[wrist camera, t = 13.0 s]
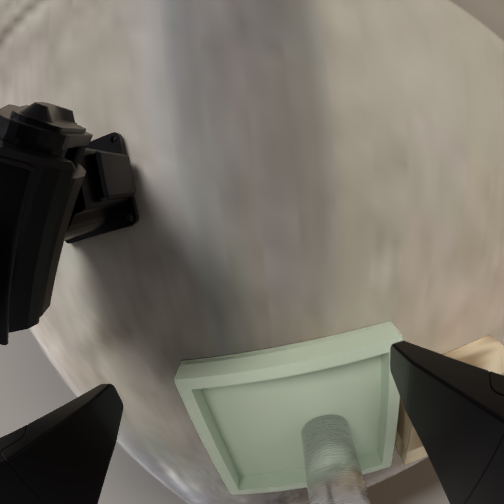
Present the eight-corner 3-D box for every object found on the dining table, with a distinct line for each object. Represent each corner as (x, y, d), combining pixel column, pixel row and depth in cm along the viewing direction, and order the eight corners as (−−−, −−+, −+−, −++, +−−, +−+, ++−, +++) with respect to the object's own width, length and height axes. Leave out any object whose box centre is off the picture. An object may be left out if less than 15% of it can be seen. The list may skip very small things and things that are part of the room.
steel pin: (304, 448, 23) (316, 570, 11) (298, 420, 22) (311, 557, 10) (349, 439, 23) (378, 557, 10) (347, 409, 22) (385, 541, 9)
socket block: (394, 441, 24) (404, 465, 20) (400, 369, 22) (416, 393, 18) (472, 409, 23) (486, 427, 20) (489, 334, 21) (509, 351, 18)
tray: (232, 477, 25) (231, 494, 23) (181, 361, 22) (173, 379, 20) (384, 449, 24) (390, 466, 22) (389, 320, 21) (402, 335, 18)
